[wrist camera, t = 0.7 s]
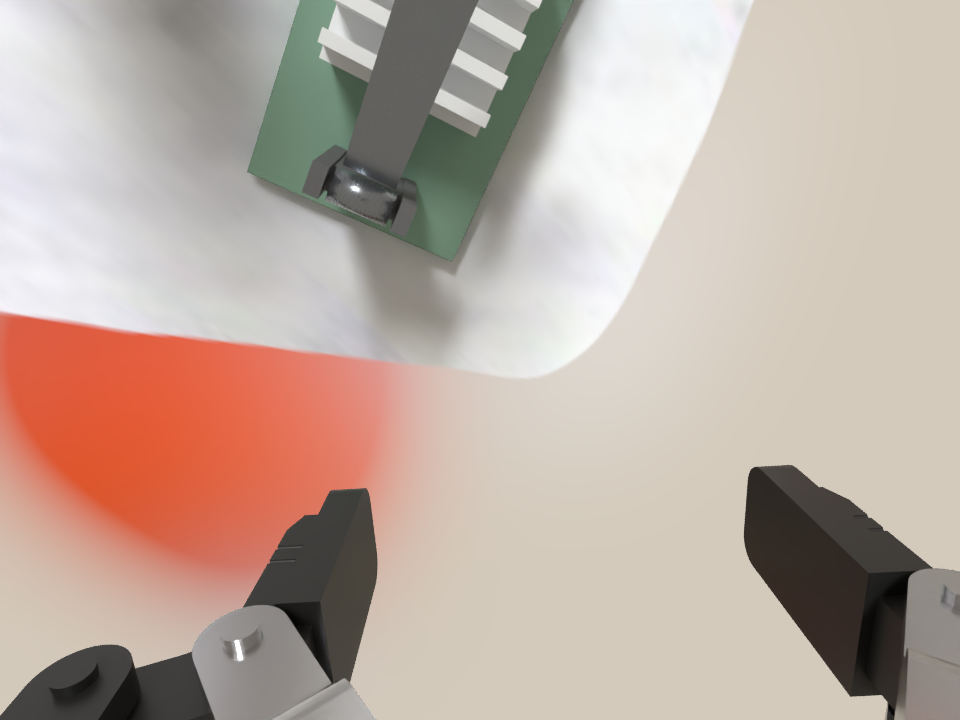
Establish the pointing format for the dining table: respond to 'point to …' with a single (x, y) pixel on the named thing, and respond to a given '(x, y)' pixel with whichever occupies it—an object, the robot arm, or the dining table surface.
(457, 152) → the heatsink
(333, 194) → the wood-capped grey post
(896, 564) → the robot arm
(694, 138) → the dining table surface
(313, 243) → the dining table surface
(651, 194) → the dining table surface
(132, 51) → the dining table surface
